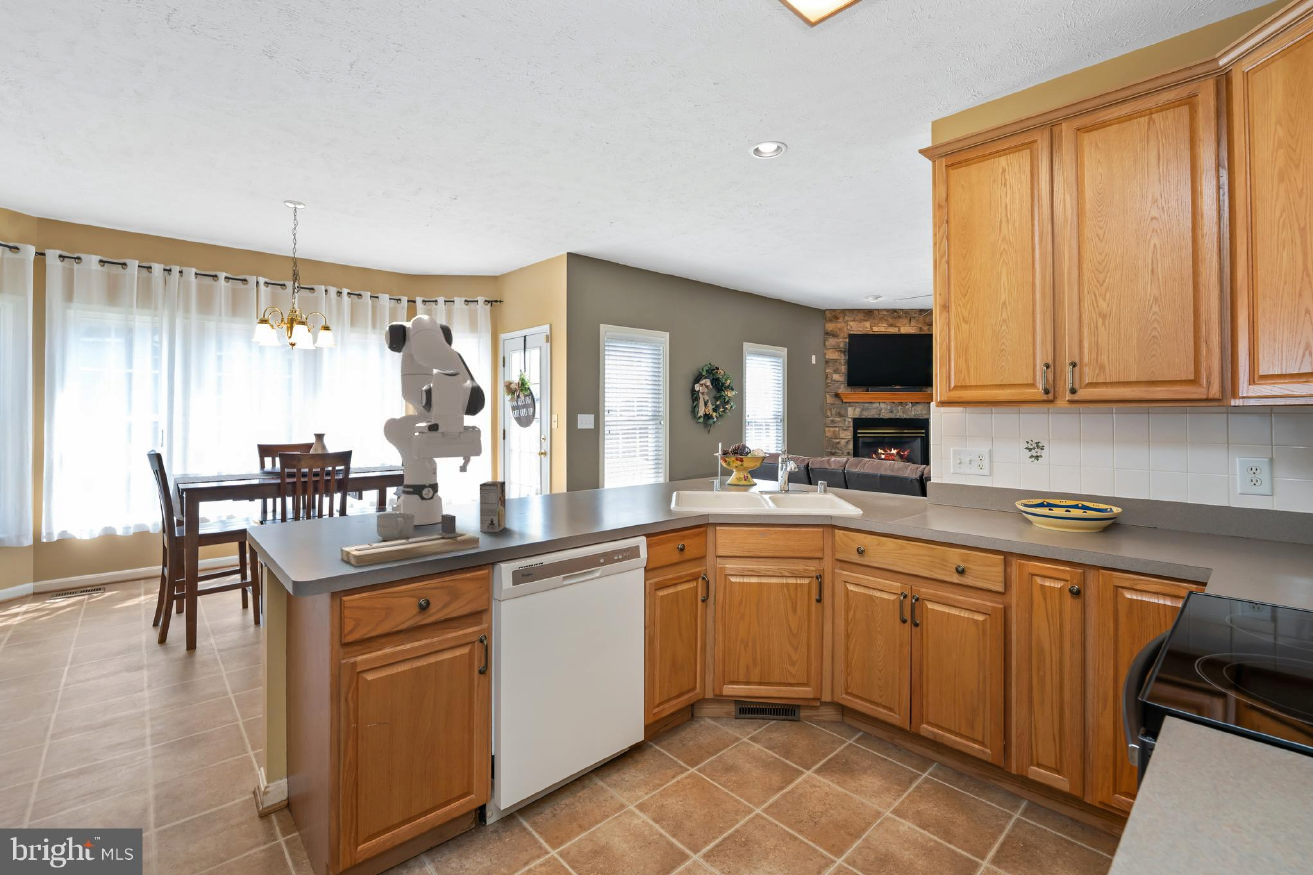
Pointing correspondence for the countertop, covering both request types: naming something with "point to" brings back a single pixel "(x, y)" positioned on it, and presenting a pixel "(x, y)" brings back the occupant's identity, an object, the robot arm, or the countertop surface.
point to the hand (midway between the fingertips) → (448, 472)
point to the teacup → (395, 526)
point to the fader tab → (448, 526)
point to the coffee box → (492, 506)
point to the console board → (406, 548)
